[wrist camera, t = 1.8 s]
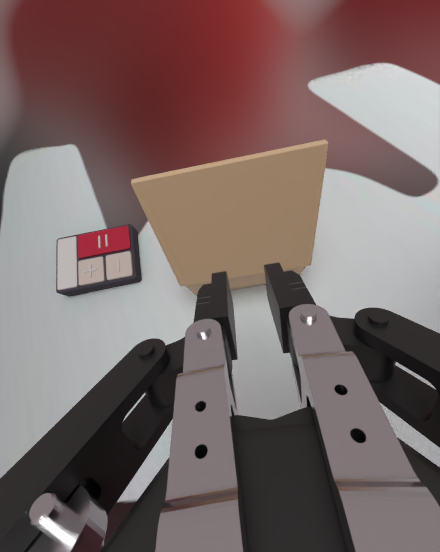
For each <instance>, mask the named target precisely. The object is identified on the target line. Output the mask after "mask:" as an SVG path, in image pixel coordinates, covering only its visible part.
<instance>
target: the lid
mask: <svg viewBox="0 0 440 552" xmlns="http://www.w3.org/2000/svg"><path fill="white" fill-rule="evenodd" d="M327 150H328V142H327V141H326V140H321V141H316V142H311V143H306V144H301V145H296V146H291V147H287V148H282V149H277V150H272V151H267V152H263V153H258V154H253V155H248V156H243V157H238V158H233V159H228V160H224V161H219V162H214V163H209V164H204V165H199V166H194V167H189V168H184V169H180V170H175V171H170V172H165V173H161V174H155V175H150V176H146V177H141V178H136V179H132V181H131V185H132V187H133V189H134V191H135V193H136V195H137V198H138V199H139V202H140V204H141V206H142V208H143V210H144V212H145V214H146V216H147V218H148V220H149V222H150V224H151V227H152V229H153V231H154V233H155V235H156V237H157V239H158V241H159V243H160V245H161V247H162V249H163V251H164V254H165V256H166V258H167V260H168V262H169V264H170V266H171V268H172V270H173V272H174V274H175V276H176V278H177V280H178V283H179V285H180V286H185V285H191V284H197V283H203V282H209V281H211V278H212V273H217V272H223V271H227V275H228V278H234V277H240V276H246V275H252V274H258V273H265V271H264V265H265V264H272V263H278V262H279V263H280V265H281V267H282V269H289V268H295V267H301V266H308V265H311V260H312V254H313V247H314V240H315V233H316V226H317V219H318V212H319V205H320V198H321V192H322V185H323V178H324V171H325V164H326V157H327Z"/></svg>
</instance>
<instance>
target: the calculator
mask: <svg viewBox="0 0 440 552" xmlns="http://www.w3.org/2000/svg"><path fill="white" fill-rule="evenodd" d="M141 279H142V278H141V267H140V257H139V246H138V232H137V230H136V229H135V228H134V227H133V226H132V225H131V224H129V225H124V226H119V227H114V228H109V229H104V230H99V231H94V232H89V233H84V234H79V235H74V236H69V237H64V238H59V239H57V280H56V291H57V293H59V294H63V295H66V296H75V295H79V294H84V293H88V292H92V291H97V290H102V289H107V288H112V287H117V286H122V285H127V284H132V283H137V282H140V281H141Z"/></svg>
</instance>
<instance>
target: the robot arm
mask: <svg viewBox="0 0 440 552" xmlns="http://www.w3.org/2000/svg"><path fill="white" fill-rule="evenodd" d="M264 271H265V280H266V289H267V296H268V301H269V305H270V309H271V312H272V316H273V319H274V323H275V326H276V329H277V333H278V336H279V340H280V343H281V347H282V350H283V353H290V355H291V358H292V368H293V373H294V378H295V383H296V387H297V392H298V397H299V402H300V406H301V409H300V410H297V411H295V412H292V413H289V414H287V415H284V416H282V417H279V418H277V419H274V420H267V419H261V418H254V417H247V416H240V415H238V409H237V402H236V395H235V388H234V381H233V375H232V360H236V359H237V346H236V333H235V321H234V308H233V301H232V296H231V291H230V285H229V280H228V275H227V271H223V272H217V273H212V278H211V283H210V284H204V285H202V287H201V288H200V289H199V290H198V295H197V302H196V304H197V305H196V309H195V317H194V323H193V324H191V325H190V326H189V327H188V329H187V330H186V333H185V337H184V338H182V339H181V340H179V341H176V342H174V343H171V344H169V345H165V343H164V342H163V341H162V340H160V339H148V340H145V341H143V342H141V343H139V344H138V345H136V346H135V347H134V348H133V349H132V350H131V351H130V352H129V353H128V354H127V355H126V356H125V357H124V358H123V359H122V360H121V361H120V362H119V363H118V364H117V365H116V366H115V367H114V368H113V369H112V370H111V371H109V372H108V373H107V374H106V375H105V376H104V377H103V378H102V379H101V380H100V381H99V382H98V383H97V384H96V385H95V386H94V387H93V388H92V389H91V390H90V391H89V392H88V393H87V394H86V395H85V396H84V397H83V398H82V399H81V400H80V401H79V402H78V403H77V404H76V405H75V406H74V407H73V408H72V409H71V410H70V411H69V412H68V413H67V414H66V415H65V416H64V417H63V418H62V419H61V420H60V421H59V422H58V423H57V424H56V425H55V426H54V427H53V428H52V429H50V430H49V431H48V432H47V433H46V434H45V435H44V436H43V437H42V438H41V439H40V440H39V441H38V442H37V443H36V444H35V445H34V446H33V447H32V448H31V449H30V450H29V451H28V452H27V453H26V454H25V455H24V456H23V457H22V458H21V459H20V460H19V461H18V462H17V463H16V464H15V465H14V466H13V467H12V468H11V469H10V470H9V471H8V472H7V473H6V474H5V475H4V476H3V477H2V478H1V479H0V552H440V467H438V466H437V465H435V464H434V463H433V462H431V461H430V460H428V459H427V458H425V457H424V456H423V455H421V454H420V453H418V452H417V451H416V450H414V449H413V448H411V447H410V446H409V445H407V444H406V443H404V442H403V441H402V440H400V439H399V438H397V437H396V435H395V433H394V431H393V429H392V427H391V425H390V423H389V421H388V419H387V417H386V415H385V413H384V411H383V409H382V407H381V405H380V403H382V404H383V405H384V406H386V407H387V408H388V409H389V410H391V411H392V412H393V413H395V414H396V415H397V416H399V417H400V418H401V419H403V420H404V421H405V422H407V423H408V424H409V425H411V426H412V427H413V428H415V429H416V430H417V431H418V432H420V433H421V434H422V435H424V436H425V437H426V438H428V439H429V440H430V441H432V442H433V443H434V444H436V445H437V446H438V447H440V334H439V333H437V332H435V331H433V330H431V329H428V328H426V327H424V326H422V325H419V324H417V323H415V322H413V321H411V320H408V319H406V318H404V317H402V316H400V315H397V314H395V313H393V312H391V311H388V310H385V309H381V308H365V309H362V310H360V311H358V312H357V313H356V315H355V319H348V318H337V317H333V316H329V314H328V313H327V311H326V310H325V309H323V308H322V307H320V306H317V305H316V304H315V302H314V300H313V298H312V296H311V295H310V293H309V291H308V289H307V288H306V286H305V284H304V282H303V280H302V279H301V277H300V275H299V274H297V273H296V272H294V271H292V270H291V271H285V272H284V271H283V269H282V267H281V265H280V263H279V262H278V263H272V264H265V265H264ZM396 362H398V363H399V364H401V365H403V366H404V367H406V368H408V369H409V370H411V371H413V372H414V373H416V374H418V375H419V376H421V377H423V378H424V379H426V380H428V381H429V382H430V383H431V384H432V385H433V386H434V387H435V389H436V390H435V389H433V388H432V387H430V386H429V385H427V384H425V383H424V382H422V381H420V380H419V379H417V378H415V377H414V376H412V375H411V374H409V373H407V372H406V371H404V370H402V369H401V368H399V367H397V366H396V365H395V363H396ZM144 393H145V394H146V395H145V396H144V397H143V398H142V400H141V401H140V402H139V403H138V405H137V406H136V407H135V408H134V409H133V411H132V412H131V413H130V414H129V416H128V417H127V418H126V419H125V420H124V418H125V416H126V414H127V413H128V412H129V411H130V409H131V408H132V407H133V406H134V405H135V403H136V402H137V401H138V400H139V399H140V397H141V396H142V395H143V394H144ZM379 402H380V403H379ZM172 419H173V424H172V435H171V446H170V457H169V458H168V460H167V461H166V462H165V464H164V465H163V467H162V468H161V469H160V471H159V472H158V473H157V475H156V476H155V477H154V479H153V480H152V482H151V483H150V484H149V486H148V487H147V488H146V490H145V491H144V492H143V494H142V495H141V496H140V498H139V499H138V501H137V502H136V503H135V505H134V506H133V507H132V509H131V510H130V512H129V513H128V514H127V515H126V517H125V518H124V520H123V521H122V522H121V524H120V525H119V526H118V528H117V529H116V530H115V532H114V533H113V535H112V536H111V537H110V539H109V540H108V541H107V543H106V544H105V545H104V537H105V533H106V529H107V515H108V514H109V512H110V510H111V509H112V508H113V506H114V505H115V503H116V502H117V500H118V499H119V498H120V496H121V495H122V493H123V492H124V490H125V489H126V487H127V486H128V484H129V483H130V481H131V480H132V478H133V477H134V475H135V474H136V472H137V471H138V469H139V468H140V466H141V465H142V463H143V462H144V460H145V459H146V457H147V456H148V454H149V453H150V452H151V450H152V449H153V447H154V446H155V444H156V443H157V441H158V440H159V438H160V437H161V435H162V434H163V432H164V431H165V429H166V428H167V426H168V425H169V423H170V422H171V420H172ZM123 420H124V422H123ZM103 545H104V547H103Z"/></svg>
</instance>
